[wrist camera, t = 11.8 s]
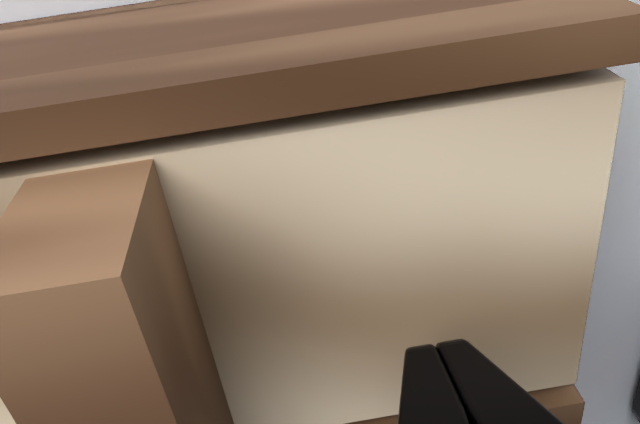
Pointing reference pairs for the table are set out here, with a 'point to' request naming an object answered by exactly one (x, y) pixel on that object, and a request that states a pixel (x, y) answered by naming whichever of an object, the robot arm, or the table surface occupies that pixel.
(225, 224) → the lid
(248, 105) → the brown boxy piece
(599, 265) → the table surface
